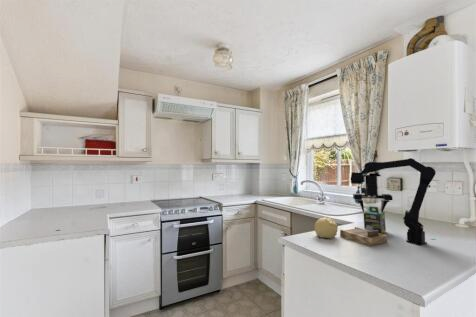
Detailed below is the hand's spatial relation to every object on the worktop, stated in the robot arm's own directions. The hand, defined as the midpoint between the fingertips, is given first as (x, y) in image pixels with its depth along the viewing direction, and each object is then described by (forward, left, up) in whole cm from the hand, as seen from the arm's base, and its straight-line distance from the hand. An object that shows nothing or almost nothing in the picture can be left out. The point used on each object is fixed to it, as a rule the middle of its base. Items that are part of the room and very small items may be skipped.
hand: (372, 212), depth 132 cm
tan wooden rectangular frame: (-1, +11, -13) cm, 17 cm away
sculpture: (+11, +25, -13) cm, 30 cm away
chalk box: (+5, -8, -13) cm, 16 cm away
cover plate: (-1, +11, -11) cm, 15 cm away
